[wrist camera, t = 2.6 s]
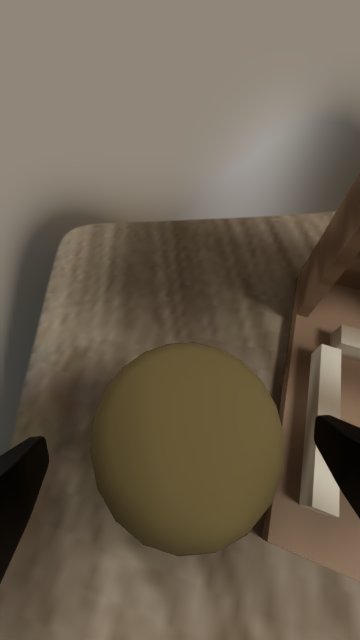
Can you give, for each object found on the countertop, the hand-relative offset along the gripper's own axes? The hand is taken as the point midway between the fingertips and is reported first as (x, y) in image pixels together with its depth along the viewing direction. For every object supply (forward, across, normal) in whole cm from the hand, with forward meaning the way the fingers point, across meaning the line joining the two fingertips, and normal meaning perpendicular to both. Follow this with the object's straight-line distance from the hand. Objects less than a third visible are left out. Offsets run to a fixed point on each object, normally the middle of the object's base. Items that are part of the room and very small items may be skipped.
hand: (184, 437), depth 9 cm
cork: (+6, 0, +6) cm, 8 cm away
